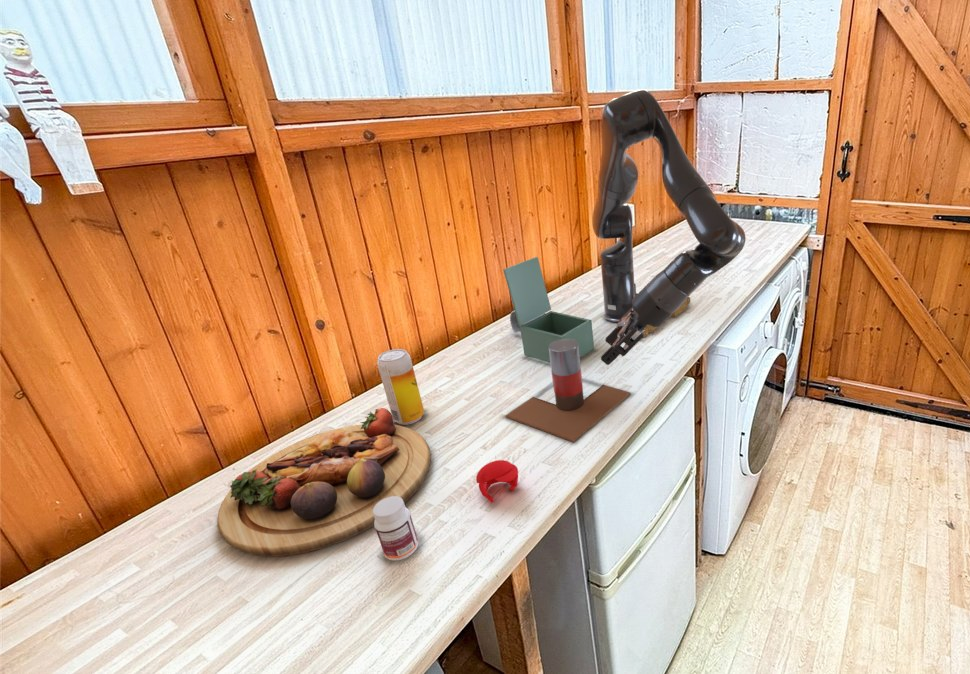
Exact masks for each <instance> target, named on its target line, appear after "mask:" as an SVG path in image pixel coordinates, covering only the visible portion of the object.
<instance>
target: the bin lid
mask: <svg viewBox="0 0 970 674" xmlns="http://www.w3.org/2000/svg"><path fill="white" fill-rule="evenodd" d="M502 270H503V274H504V278H505V281H506V286H507V288H508V292H509V296H510V298H511V303H512V306H513V309H514V310H515V313H516V317H517V320H518V324H519V325H522V324H524V323H526V322H528V321H530V320H532V319H534V318H536V317H538V316H540V315H542V314H544V313H545V314H546V313H548V312H550V311H552V307H551V301H550V299H549V295H548V292H547V287H546V284H545V280H544V276H543V272H542V269H541V264H540V260H539V257H538V256H535V257H532V258H530V259H529V258H528V259H526V260H524V261H522V262H519V263H516V264H514V265H511V266H508V267H506V268H502ZM514 310H513V311H514Z"/></svg>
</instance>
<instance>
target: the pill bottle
mask: <svg viewBox="0 0 970 674" xmlns="http://www.w3.org/2000/svg"><path fill="white" fill-rule="evenodd" d="M405 504H406V503H404V502H403V499H402V498H400V497H397V496H392V497H387V498H385V499H383V500H381V501H379V502H378V503H377V504H376V505H375V506H374V508H373V514H374V518H375V521H374V526H373V527H374V529H375V533H376V535H377V538H378V540H379V543H380V547H381V548H382V549H381V550H382V551H383V552H382V553H383V554H384V557H385V558H386V559H387V560H389V561H401V560H404V559H407V558H408V557H410V556H412V555H413V554H414V553H415V552H416V550H417V549H418V547H419V538H418V535H417V532H416V531H417V530H416V528H415V525H414V521H413V518H412V515H411V512H410V510H409V509H408V507H406V505H405Z"/></svg>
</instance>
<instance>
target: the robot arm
mask: <svg viewBox="0 0 970 674" xmlns="http://www.w3.org/2000/svg"><path fill="white" fill-rule="evenodd" d="M649 139H653V140H654V141H655V143H656V144H657V145H658V147H659V149H660V154H661V180H662V185H663V187H664V190H665V193H666V194H667V196H668V197H669V198H670V200H671V201H672V203H673V204H674V205H675V207H676V208H677V210H678V211H679V213H680V214H681V215H682V216H683V217H684V218H685V220H686V223H687V224H688V227H689V228H690V230H691V232H692V235H693V236H694V238H695V239H696V240H697V242H698V245H695V247H693V248H692V249H688V250H683V251H681V252H679V254H677V255H676V256H675V258H674V259H672V261H670V263H668V264H667V266H666V267H665V268H664V269H662V271H660V272H659V273H657V274H656V275H655V276H654V277H653V278H652V279H651V280H650V281H649V282H648V283H647V284H646V285H644V287H643V288H642V289H640V291H639V292H638V293H637V285H636V283H635V274H634V273H635V271H634V247H633V230H634V229H633V225H634V224H633V213H632V209H631V207H630V205H629V204H628V202H629V201H630V200H631V199H632V197H633V196H634V194H635V192H636V189H637V185H638V182H639V176H640V175H639V174H640V173H639V168H638V165H637V163H636V161H635V160H634V159H633V158H632V157H631V155H630V154H628V153H627V150H628V149H629V148H630V147H631V146H632V147H633V146H635V145H636V144H639V143H641V142H643V141H647V140H649ZM600 156H601V158H600V167H599V172H598V181H597V193H596V194H597V195H596V198H595V199H596V200H595V204H594V207H593V212H592V218H591V219H592V220H591V223H592V225H591V226H592V231H593V233H594V235H595V237H596V238H598V239H600V240H612V239H618V241H617V242H615V243H614V244H613V245H611V246H609V247H607V248H605V249H604V250H602V251H601V252H600V267H601V282H602V293H603V294H602V295H603V307H604V319H605V320H606V321H608V322H612V323H617V324H616V326H615V328H614V329H613V330H612V331H611V332H610V333H609V334H608V335H607V336H606V337H605V342H606V343H607V344H608V345H610V347H609V348H608V349H606V351H605V352H604V353H603V354H601V356H600V360H601V362H603V363H604V364H605V365H606V366H610V365H611V364H612V363H613V362H614V361H615V360H616V359H617V358H618V357H619V356H622V357H625V356H626V355H627V354H628V353H629V352H630V351H631V350H632V349H633V348H634V347H635V346H636V345H637V344H638V343H639V342H640V341H641V340H642V339H644V338H643V336H644V334H643V332H644V331H645V329H644V328H645V327H646V325H651V326H653V327H657V328H659V327H661V325H663V323H665V322H666V320H668V319H669V318H668V317H670V316H671V315H672V314H673V313H674V312H675V311H676V310H677V309H678V308H679V307H680V306H681V305H682V304H683V303H684V301H685V300H686V299H687V298H688V297H690V295H692V294H693V293H694V292H695V291H696V290H697V289H698V288H699V287H700V286H701V285H702V284H703V283H704V282H705V280H707V279H708V278H709V277H711V276H713V275H714V274H716V273H718V272H719V271H720V270H721V269H723V268H724V267H726V266H727V265H729V263H732V261H733V260H735V259H736V258H737V257H738V255H740V253H741V252H742V250H743V249H744V248H745V244H746V239H747V238H746V233H745V230H744V228H743V227H742V226H741V225H740V224H738V222H736V221H735V220H733V219H731V217H730V216H729V215H728V214H727V212H726V211H724V209H723V208H722V206H721V205H720V204H719V202H718V201H717V198H716V195H715V194H714V192H713V191H712V189H711V187H710V186H709V185H708V183H706V181H705V179H704V178H703V177H702V176H701V174H700V173H699V172H698V170H697V169H696V168H695V166H694V165H693V164H692V161H691V160H690V158H689V157H688V155H687V154H686V152H685V149H684V148H683V146H682V144H681V142H680V139H679V138H678V136H677V134H676V132H675V130H674V129H673V127H672V125H671V123H670V121H669V118H667V116H666V114H665V112H664V110H663V108H662V107H661V105H660V103H659V102H658V100H657V99H656V98H655V96H654V95H653V94H652V93H651V92H650V91H648V90H647V89H644V88H643V89H637V90H634V91H631V92H628V93H625V94H622V95H621V96H618V97H616V98H613V99H611V100H609V101H608V102H607V103H606V104H605V105H604V106H603V109H602V112H601V155H600ZM667 318H668V319H667ZM670 318H671V317H670ZM623 344H624V345H623ZM622 345H623V346H622Z"/></svg>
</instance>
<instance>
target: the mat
mask: <svg viewBox="0 0 970 674" xmlns="http://www.w3.org/2000/svg"><path fill="white" fill-rule="evenodd" d="M630 395H631V392H630V391H626V390H623V389H619V388H616V387H613V386H610V385H606V384H602V385H601V386H599V387H598V388H597V389H596V390H595V391H593V392H592V393H590V394H589V395H588V396H587V397H584V404H583V406H582V407H580V408H579V409H576V410H573V411H563V410H560V409H558V408H557V407H556V403H553V402H550V401H547V400H543V399H541V398H537V397H534V396H532V397H531V398H529V399H528V400H526V401H525V402H523V403H522V404H520V405H519V406H517V407H516V408H514V409H513V410H511V411H509V412H508V413H507V414H505V418H506V419H509V420H512V421H515V422H516V423H517V422H518V423H520V424H522V425H525V426H529V427H531V428H533V429H537V430H539V431H542V432H544V433H547V434H550V435H553V436H555V437H558V438H561V439H562V440H566V441H568V442H572V443H574V442H576V441H577V440H578V439H579V438H581V436H583V435H584V434H585V433H586V432H588V431H589V430H590V429H591V428H592V427H593V426H595V425H596V424H597V423H598V422H600V420H602V419H603V418H604V417H605V416H607V415H608V414H609V413H610V412H611V411H612V410H613V409H615V408H616V407H617V406H618V405H620V404H621V403H622V402H623V401H624V400H625V399H627V398H628V397H629V396H630Z"/></svg>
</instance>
